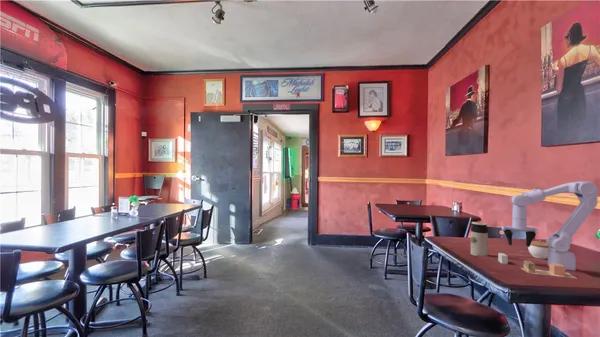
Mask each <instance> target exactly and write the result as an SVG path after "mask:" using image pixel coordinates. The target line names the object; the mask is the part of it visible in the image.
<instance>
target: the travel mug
mask: <svg viewBox="0 0 600 337" xmlns="http://www.w3.org/2000/svg"><path fill="white" fill-rule="evenodd" d="M487 227H488V223H486V222H480V221H472V222H471V227H470V255H471V256H473V257H476V258H478V256H482V257H488V255H489V254H488V248H489V229H488V228H487Z"/></svg>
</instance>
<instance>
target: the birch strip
mask: <svg viewBox="0 0 600 337" xmlns="http://www.w3.org/2000/svg"><path fill="white" fill-rule="evenodd" d="M520 269H521V270H523V271H524V272H525V273H527V274H534V275H543V276H553V277H562V278H563V277H564V278H571V279H577V277H576V276H575V275H573V274H571V273H569V272H565V276H561V275H554V274H552V273H551V272H549V270H544V269H536V264H535V263H534V262H533V261H531V260H525V259H524V260H523V267H520Z"/></svg>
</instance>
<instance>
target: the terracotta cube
mask: <svg viewBox="0 0 600 337" xmlns="http://www.w3.org/2000/svg"><path fill="white" fill-rule="evenodd" d="M548 271H549V272H551V273H552V274H554V275H561V276H565V273H566V271H567V270H566V267H565V266H563V265H561V264H555V263H550V267H549V270H548ZM561 276H560V277H561Z"/></svg>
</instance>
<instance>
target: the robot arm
mask: <svg viewBox="0 0 600 337" xmlns="http://www.w3.org/2000/svg"><path fill="white" fill-rule="evenodd" d="M599 192H600V190H599V188H598V187H597V185H596V184H595V183H594V182H592V181H586V180H585V181H582V180H576V181H574V182H571V181H570V182H566V183H563V184H559V185H557V186H553V187H550V188H547V189H544V190H542V189H540V188H537V189H536V188H533V189H532V190H531V191H530V190H529V191H527V192H521V194H514V195H513V196H511V199H510V200H511V201H510V202H511V204H512V214H511V215H512V217H511V218H512V219H511V221H512V222H511V225H501V230H502V231H503V232H504V235H505V237H506V239H507V243H508V245H509V246H512V245H513V244H512V243H513V242H512V241H513V231H514V232H524V233H525V238H526V239H525V241H526V242H525V246H526V247H527V248H528V247H530V244H531V242H532V241H534V238H535V237H536V235H537V233H538V231H539V230H538V228H536V227H528V226H527V224H528V222H527V221H528V220H527V219H528V218H527V215H528V214H527V213H528V211H527V206H528V205H531V204H535V203H539V202H541V201H545V200H546V199H547V197H550V196H555V195H559V194H564V193H573V194H574V195H575V196H576V197H577V199H578V202H579V203H578V205H576V207H575V208H574V210H573V212H572V213H571V214H570V215H569V217H568V218H567V219H566V220H565V221H564V223H563V224H562V225H561V227H559V229H557V230H556V231H554V233H553V234H551V235H549V236H548V237H547V238H546V240H545V243H547V244H548V245H549V248H548V258H547V267H549V268H550V263H555V264H561V265H563V266H565V267H566V270H565V271H576V267H577V266H576V264H577V263H576V262H577V261H576V255H575V254H574V253H573V252H572V251H569V250H570V249H571V243H572V242H573V236H574V235H575V234H576V232H577V231H578V230H579V228H580V227H581V226H582V224H584V222H585V221H586V220H587V218H588V217H589V216H590V215H591V213H592V212H593V211H594V210H595V208H596V207H597V206H598V194H599Z"/></svg>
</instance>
